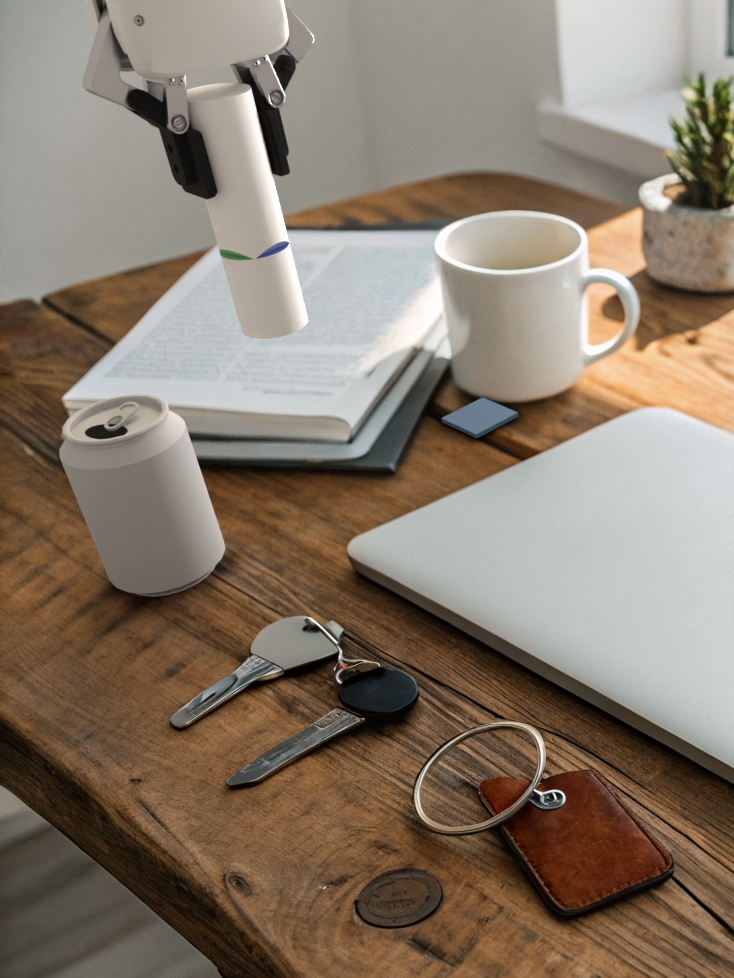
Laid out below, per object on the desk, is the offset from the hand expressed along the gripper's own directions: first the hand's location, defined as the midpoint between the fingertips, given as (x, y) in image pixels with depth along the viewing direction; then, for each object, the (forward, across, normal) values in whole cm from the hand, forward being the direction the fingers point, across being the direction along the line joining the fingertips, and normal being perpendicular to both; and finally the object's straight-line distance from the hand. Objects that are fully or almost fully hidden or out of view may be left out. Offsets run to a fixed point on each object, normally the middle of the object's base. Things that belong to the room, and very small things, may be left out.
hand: (236, 179), depth 72 cm
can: (+24, +11, -1) cm, 27 cm away
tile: (+24, -15, 0) cm, 28 cm away
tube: (+10, 0, 0) cm, 10 cm away
